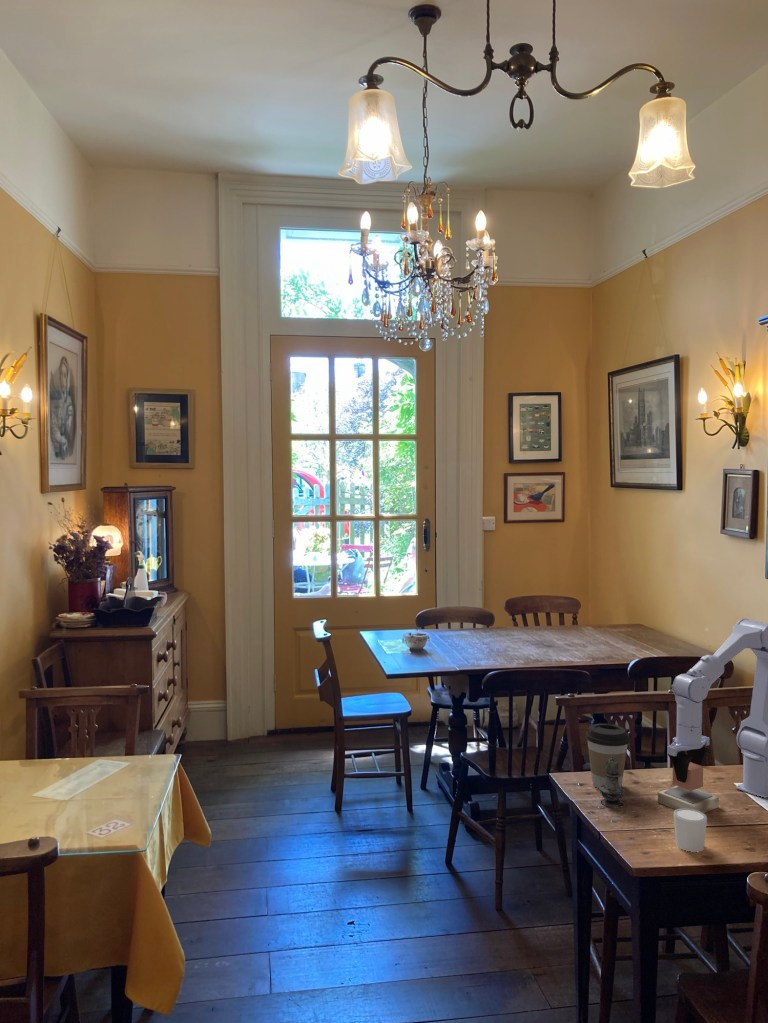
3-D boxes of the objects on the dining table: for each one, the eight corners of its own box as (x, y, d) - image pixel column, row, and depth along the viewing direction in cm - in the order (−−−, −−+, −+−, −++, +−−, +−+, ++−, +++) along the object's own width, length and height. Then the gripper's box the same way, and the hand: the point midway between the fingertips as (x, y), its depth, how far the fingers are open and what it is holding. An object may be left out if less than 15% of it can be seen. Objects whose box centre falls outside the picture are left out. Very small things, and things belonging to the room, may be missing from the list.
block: (684, 779, 187) (685, 760, 186) (702, 786, 182) (703, 766, 182) (672, 784, 184) (672, 764, 184) (690, 791, 180) (690, 770, 180)
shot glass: (703, 857, 157) (704, 824, 157) (669, 848, 161) (670, 816, 160) (709, 844, 163) (709, 812, 163) (676, 836, 167) (676, 805, 166)
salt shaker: (625, 809, 180) (626, 760, 180) (600, 807, 182) (600, 758, 181) (622, 799, 186) (623, 752, 186) (598, 797, 187) (598, 750, 187)
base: (681, 793, 190) (682, 782, 190) (718, 807, 182) (718, 796, 182) (657, 802, 185) (657, 791, 184) (694, 817, 176) (694, 805, 176)
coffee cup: (632, 781, 198) (632, 725, 197) (626, 797, 187) (627, 738, 187) (588, 774, 203) (589, 719, 202) (580, 789, 192) (581, 732, 192)
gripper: (691, 715, 190) (690, 767, 190) (656, 724, 182) (655, 779, 182) (717, 722, 184) (716, 776, 185) (682, 732, 176) (681, 789, 176)
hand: (688, 778), depth 183 cm, fingers closed on block, 5 cm apart
